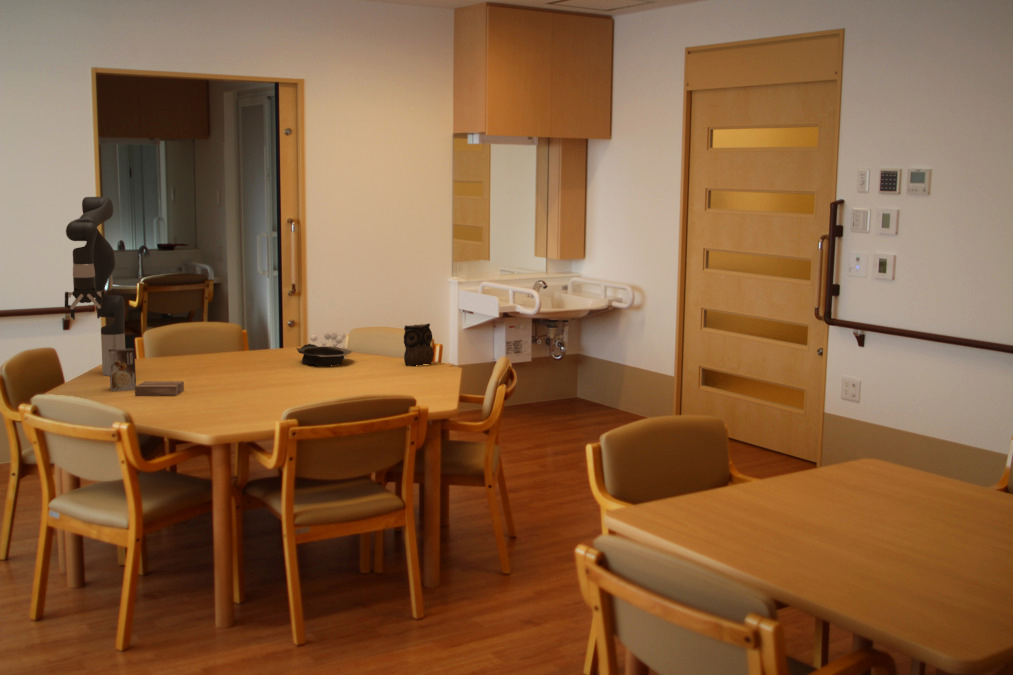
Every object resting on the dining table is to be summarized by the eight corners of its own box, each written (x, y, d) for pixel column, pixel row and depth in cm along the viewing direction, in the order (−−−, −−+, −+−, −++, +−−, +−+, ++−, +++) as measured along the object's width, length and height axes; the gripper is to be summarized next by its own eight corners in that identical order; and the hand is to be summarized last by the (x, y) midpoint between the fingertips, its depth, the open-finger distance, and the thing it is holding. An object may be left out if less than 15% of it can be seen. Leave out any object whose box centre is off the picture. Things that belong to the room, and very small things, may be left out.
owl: (434, 365, 454) (434, 322, 451) (424, 369, 442) (425, 325, 439) (409, 364, 457) (409, 321, 455) (398, 368, 445) (398, 324, 443)
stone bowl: (285, 366, 447) (285, 346, 446) (328, 360, 466) (328, 341, 465) (319, 372, 431) (319, 351, 430) (363, 366, 450) (362, 346, 449)
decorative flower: (304, 356, 482) (304, 327, 480) (350, 356, 484) (350, 327, 482) (298, 364, 457) (298, 334, 455) (346, 363, 459) (346, 334, 457)
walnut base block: (144, 391, 383) (144, 381, 382) (183, 391, 384) (183, 381, 383) (135, 397, 371) (134, 386, 371) (175, 397, 372) (175, 386, 371)
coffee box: (134, 387, 388) (133, 347, 386) (136, 390, 382) (135, 349, 381) (109, 389, 384) (108, 348, 382) (111, 392, 378) (109, 351, 376)
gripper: (103, 274, 373) (105, 316, 375) (62, 275, 366) (65, 318, 369) (105, 276, 366) (107, 319, 368) (63, 277, 360) (65, 320, 362)
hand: (86, 318), depth 368 cm, fingers open, 8 cm apart
